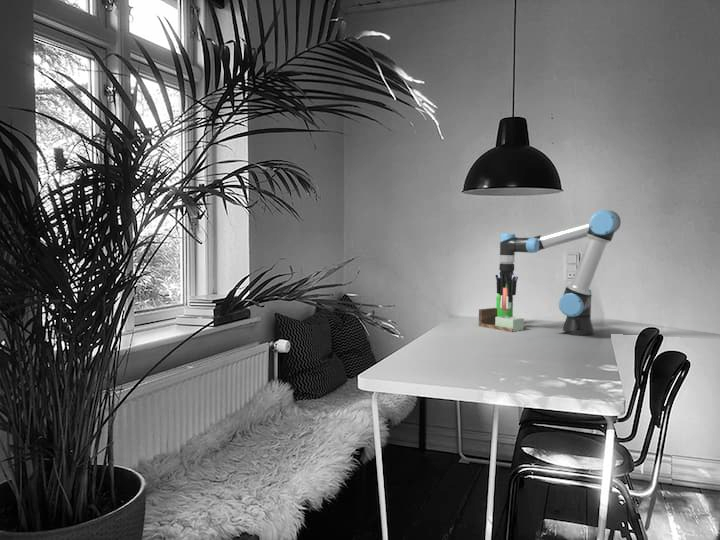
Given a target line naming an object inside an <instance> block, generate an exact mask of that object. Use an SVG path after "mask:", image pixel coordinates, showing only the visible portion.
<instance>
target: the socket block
mask: <svg viewBox="0 0 720 540" xmlns="http://www.w3.org/2000/svg"><path fill="white" fill-rule="evenodd" d="M524 318H525V317H524ZM524 318H523V317H517V316H513V317H511V316H499V317H495V326H500V327H505V328H511V329H513V331H514V332H516V331H517V332H521V330H522V331H524V330H523V328H524V325H525V322H524V321H525V319H524Z"/></svg>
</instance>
